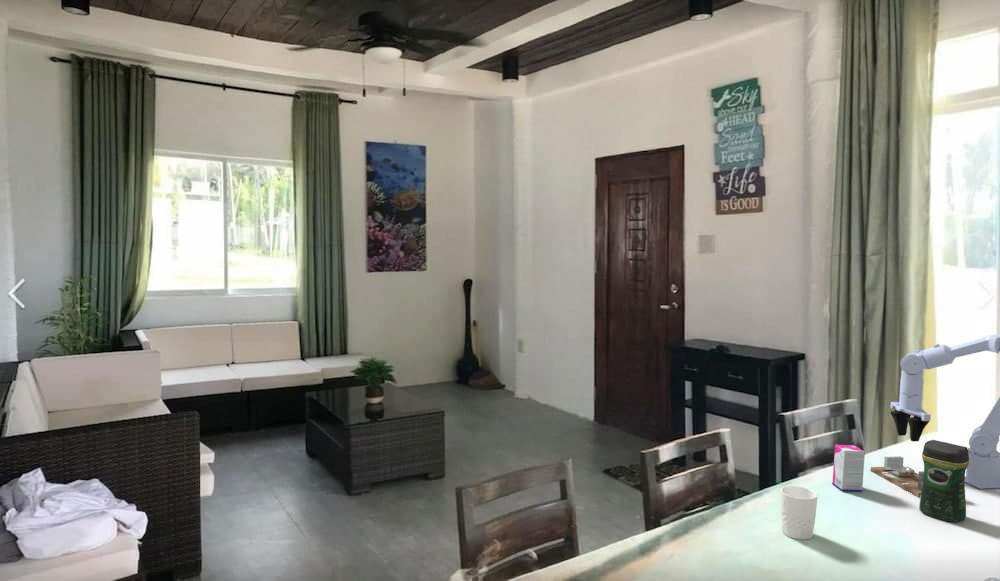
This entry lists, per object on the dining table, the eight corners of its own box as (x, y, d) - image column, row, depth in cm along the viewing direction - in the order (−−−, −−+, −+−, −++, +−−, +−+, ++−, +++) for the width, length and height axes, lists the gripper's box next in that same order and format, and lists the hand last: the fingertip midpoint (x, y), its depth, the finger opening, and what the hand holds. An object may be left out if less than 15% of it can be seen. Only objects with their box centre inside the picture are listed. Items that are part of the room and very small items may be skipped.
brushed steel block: (875, 469, 198) (876, 457, 198) (899, 468, 199) (900, 456, 199) (894, 479, 190) (895, 466, 190) (919, 478, 191) (920, 466, 191)
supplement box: (863, 492, 185) (865, 451, 184) (841, 491, 185) (843, 450, 184) (852, 484, 190) (854, 444, 189) (831, 483, 190) (833, 444, 189)
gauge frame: (870, 470, 201) (871, 451, 200) (902, 470, 202) (903, 450, 201) (918, 497, 181) (919, 475, 180) (953, 496, 182) (954, 474, 181)
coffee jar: (970, 517, 168) (975, 445, 167) (957, 525, 164) (962, 451, 162) (927, 505, 176) (931, 435, 174) (913, 512, 171) (918, 440, 170)
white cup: (799, 544, 154) (802, 501, 153) (771, 530, 161) (773, 489, 160) (823, 536, 157) (825, 495, 156) (794, 523, 164) (796, 483, 163)
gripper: (882, 387, 208) (879, 431, 209) (915, 399, 193) (912, 446, 195) (903, 387, 208) (901, 430, 210) (938, 399, 194) (935, 445, 195)
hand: (908, 438), depth 202 cm, fingers open, 5 cm apart
